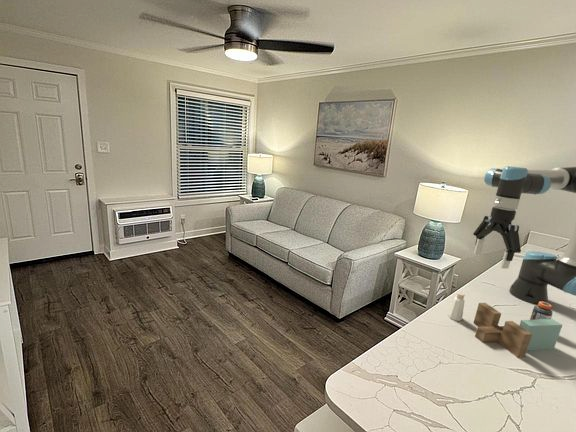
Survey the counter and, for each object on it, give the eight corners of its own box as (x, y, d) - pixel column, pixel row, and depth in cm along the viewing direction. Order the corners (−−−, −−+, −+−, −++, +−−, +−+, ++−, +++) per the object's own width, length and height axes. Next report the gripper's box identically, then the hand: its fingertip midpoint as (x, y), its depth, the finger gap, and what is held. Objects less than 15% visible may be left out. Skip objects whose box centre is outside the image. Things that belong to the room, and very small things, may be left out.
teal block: (544, 342, 116) (552, 319, 113) (553, 348, 113) (562, 324, 110) (513, 344, 113) (521, 320, 111) (522, 350, 110) (530, 325, 107)
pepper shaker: (444, 314, 129) (450, 290, 126) (453, 312, 131) (459, 289, 128) (455, 322, 124) (462, 297, 121) (465, 320, 126) (471, 295, 123)
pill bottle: (529, 322, 129) (537, 298, 126) (547, 329, 125) (555, 304, 122) (526, 327, 125) (534, 302, 122) (545, 335, 121) (554, 309, 118)
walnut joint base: (459, 323, 123) (464, 303, 121) (493, 322, 126) (499, 302, 124) (501, 358, 104) (508, 335, 102) (540, 356, 108) (547, 333, 105)
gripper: (471, 200, 127) (459, 248, 132) (525, 216, 103) (508, 274, 109) (487, 201, 128) (475, 249, 134) (544, 217, 105) (526, 275, 110)
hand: (490, 260), depth 121 cm, fingers open, 13 cm apart
